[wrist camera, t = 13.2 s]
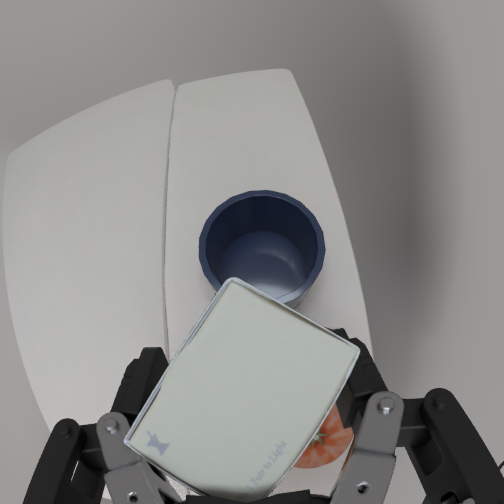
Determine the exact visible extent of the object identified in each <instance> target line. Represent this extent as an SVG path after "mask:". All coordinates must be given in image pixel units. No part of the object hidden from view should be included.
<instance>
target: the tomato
mask: <svg viewBox="0 0 504 504" xmlns="http://www.w3.org/2000/svg"><path fill="white" fill-rule="evenodd" d="M353 435H354V434H353V431H352V428H351V427H350V428H346V429H343V425H342V422H341V419H340V415H339V412H338V409H337V406H336V402H335V404H334V406H333V407H332V409H331V410H330V412H329V414H328V415H327V417H326V419H325V420H324V422H323V424H322V425H321V427H320V428H319V430H318V432H317V433H316V434H315V436H314V437H313V439H312V440H311V442H310V443H309V445H308V446H307V448H306V449H305V451H304V452H303V454H302V455H301V456H300V458H299V459H298V460H297V462H296V463H295V464H294V467H298V468H315V467H319V466H323V465H325V464H328V463H330V462H332V461H334V460H335V459H337V458H338V457H339V456H340V455H341V454H342V453H343V452H344V451H345V450H346V448H347V447H348V445H349V444H350V442H351V440H352V438H353Z"/></svg>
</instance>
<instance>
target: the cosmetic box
mask: <svg viewBox="0 0 504 504" xmlns="http://www.w3.org/2000/svg"><path fill="white" fill-rule="evenodd" d="M359 354H360V349H359V348H358V346H356V345H354V344H353V343H351V342H349V341H347V340H345V339H344V338H342V337H340V336H338V335H336V334H335V333H333V332H332V331H330V330H328V329H326V328H324V327H323V326H321V325H319V324H318V323H316V322H314V321H313V320H311V319H309V318H307V317H305V316H303V315H302V314H300V313H298V312H297V311H295V310H293V309H291V308H290V307H288V306H286V305H285V304H283V303H281V302H279V301H278V300H276V299H274V298H272V297H271V296H269V295H267V294H265V293H264V292H262V291H260V290H258V289H256V288H255V287H253V286H251V285H249V284H248V283H246V282H244V281H242V280H241V279H239V278H236V277H232V278H229V279H227V280H226V281H225V282H224V284H223V285H222V287H221V288H220V290H219V291H218V292H217V294H216V295H215V297H214V298H213V300H212V301H211V303H210V304H209V306H208V307H207V308H206V310H205V311H204V313H203V314H202V316H201V318H200V319H199V321H198V322H197V323H196V325H195V326H194V328H193V329H192V331H191V332H190V334H189V335H188V337H187V338H186V340H185V341H184V343H183V344H182V346H181V347H180V349H179V350H178V352H177V353H176V355H175V356H174V358H173V359H172V361H171V362H170V364H169V366H168V367H167V369H166V371H165V372H164V374H163V375H162V377H161V379H160V380H159V382H158V384H157V385H156V387H155V388H154V390H153V391H152V393H151V395H150V397H149V398H148V400H147V402H146V403H145V405H144V407H143V408H142V410H141V411H140V413H139V415H138V416H137V418H136V420H135V421H134V423H133V425H132V427H131V428H130V430H129V432H128V433H127V435H126V436H125V438H124V443H125V444H126V445H127V446H128V447H130V448H131V449H132V450H134V451H135V452H136V453H138V454H139V455H141V456H142V458H144V459H145V460H146V461H148V462H149V463H150V464H152V465H153V466H155V467H156V468H157V469H159V470H160V471H162V472H163V473H165V474H166V475H167V476H169V477H171V478H172V479H174V480H175V481H177V482H179V483H180V484H182V485H184V486H185V487H187V488H189V489H190V490H192V491H194V492H195V493H197V494H199V495H201V496H216V497H220V498H224V499H229V500H234V501H239V502H252V501H256V500H260V499H263V498H266V497H267V496H268V495H269V494H270V493H271V492H272V491H273V490H274V489H275V488H276V486H277V485H278V484H279V483H280V482H281V481H282V479H283V478H284V477H285V476H286V475H287V473H288V472H289V471H290V469H291V468H292V467H293V466H294V464H295V463H296V462H297V460H298V459H299V458H300V456H301V455H302V454H303V452H304V451H305V449H306V448H307V446H308V445H309V443H310V442H311V440H312V439H313V437H314V436H315V434H316V433H317V432H318V430H319V428H320V427H321V425H322V424H323V422H324V420H325V419H326V417H327V415H328V414H329V412H330V410H331V409H332V407H333V406H334V404H335V402H336V400H337V398H338V396H339V394H340V392H341V391H342V389H343V387H344V385H345V383H346V381H347V379H348V378H349V376H350V374H351V372H352V370H353V367H354V365H355V363H356V361H357V359H358V357H359Z"/></svg>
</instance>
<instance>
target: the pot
mask: <svg viewBox="0 0 504 504" xmlns="http://www.w3.org/2000/svg"><path fill="white" fill-rule="evenodd" d="M325 251H326V249H325V242H324V236H323V231H322V229H321V227H320V225H319V223H318V221H317V219H316V217H315V216H314V215H313V214H312V213H311V212H310V211H309V210H308V209H307V208H306V207H305V206H304V205H303V204H302V203H301V202H300V201H298V200H296V199H294V198H292V197H290V196H288V195H287V194H283V193H279V192H274V191H270V190H259V191H248V192H245V193H242V194H239V195H236V196H233V197H231V198H229V199H228V200H227V201H225V202H224V203H222V204H221V205H219V206H218V207H217V208H216V209H215V210H214V211H213V213H212V214H211V215H210V216H209V218H208V219H207V220H206V222H205V224H204V227H203V229H202V232H201V235H200V237H199V260H200V263H201V266H202V269H203V272H204V275H205V276H206V278H207V279H208V281H209V282H210V283H211V285H212V286H213V287H214V289H215V290H216V291H217V292H218V291H219V290H220V288H221V287H222V285H223V284H224V282H225V281H226V280H227V279H229V278H232V277H236V278H239V279H241V280H242V281H244V282H246V283H248V284H249V285H251V286H253V287H255V288H256V289H258V290H260V291H262V292H264V293H265V294H267V295H269V296H271V297H272V298H274V299H276V300H278V301H279V302H281V303H283V304H285V305H286V306H288V307H290V308H291V309H294V308H295V307H296V306H297V305H298V304H300V302H301V301H302V300H303V298H304V297H305V295H306V294H307V292H308V291H309V289H310V288H311V286H312V285H313V283H314V281H315V280H316V278H317V276H318V274H319V273H320V271H321V269H322V266H323V261H324V256H325Z"/></svg>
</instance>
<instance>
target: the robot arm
mask: <svg viewBox="0 0 504 504" xmlns="http://www.w3.org/2000/svg"><path fill="white" fill-rule="evenodd" d="M330 331H332V332H333V333H335V334H336V335H338V336H340V337H342V338H344V339H345V340H347V341H349V342H351V343H353V344H354V345H356V346H358V348H359V349H360V354H359V357H358V359H357V361H356V363H355V365H354V367H353V370H352V372H351V374H350V376H349V378H348V379H347V381H346V383H345V385H344V387H343V389H342V391H341V392H340V394H339V396H338V398H337V400H336V406H337V409H338V412H339V415H340V419H341V422H342V425H343V429H346V428H350V427H351V428H352V431H353V434H354V439H353V441H352V444H351V447H350V450H349V452H348V455H347V457H346V460H345V462H344V465H343V467H342V470H341V472H340V474H339V477H338V479H337V481H336V483H335V485H334V487H333V489H332V491H331V494H330V496H329V497H328V496H324V495H316V494H310V490H309V489H308V490H302V491H296V492H289V493H280V494H276V495H273V496H270V497H266V498H263V499H260V500H256V501H252V502H239V501H234V500H229V499H224V498H220V497H216V496H194V495H186V500H185V501H182V499H181V498H180V496H179V495H178V493H177V492H176V491H175V489H174V488H173V487H172V486H171V484H170V483H169V481H168V479H167V477H166V475H165V473H163V472H162V471H160V470H159V469H157V468H156V467H155V466H153V465H152V464H150V463H149V462H148V461H146V460H145V459H144V458H142V456H141V455H139V454H138V453H136V452H135V451H134V450H132V449H131V448H130V447H128V446H127V445H126V444H125V443H124V438H125V436H126V435H127V433H128V432H129V430H130V428H131V427H132V425H133V423H134V421H135V420H136V418H137V416H138V415H139V413H140V411H141V410H142V408H143V407H144V405H145V403H146V402H147V400H148V398H149V397H150V395H151V393H152V391H153V390H154V388H155V387H156V385H157V384H158V382H159V380H160V379H161V377H162V375H163V374H164V372H165V371H166V369H167V367H168V366H169V364H168V362H167V359H166V357H165V354H164V352H163V350H162V348H161V347H145V348H143V350H142V352H141V355H140V357H139V359H134V360H133V361H132V362H131V363H130V364H129V365H128V366H127V368H126V371H125V373H124V378H123V379H122V381H121V385H120V387H119V389H118V392H117V395H116V397H115V400H114V403H113V406H112V409H111V411H110V413H107V414H105V415H103V416H102V417H101V418H100V419H99V420H98V422H97V423H95V424H88V425H79V424H78V423H77V422H76V421H75V420H73V419H69V418H66V419H62V420H60V421H59V422H58V423H57V424H56V425H55V427H54V428H53V431H52V433H51V435H50V437H49V439H48V442H47V443H46V446H45V448H44V450H43V453H42V455H41V457H40V459H39V462H38V464H37V467H36V469H35V471H34V474H33V477H32V479H31V482H30V484H29V487H28V490H27V493H26V496H25V498H24V501H23V504H100V501H101V498H102V494H103V491H104V487H105V484H106V485H107V488H108V491H109V493H110V496H111V499H112V501H113V504H383V502H384V499H385V496H386V493H387V490H388V487H389V484H390V481H391V477H392V474H393V471H394V467H395V463H396V456H395V449H396V447H405V449H406V451H407V453H408V455H409V457H410V459H411V461H412V464H413V466H414V468H415V470H416V472H417V475H418V477H419V479H420V481H421V484H422V486H423V488H424V490H425V493H426V495H427V498H428V500H429V502H430V504H504V478H503V476H502V474H501V472H500V469H501V468H502V466H503V465H504V461H503V462H502V463H501V464H500V466H499V467H498V466H497V464H496V463H495V461H494V459H493V457H492V455H491V454H490V452H489V450H488V449H487V447H486V445H485V443H484V442H483V440H482V439H481V437H480V435H479V434H478V432H477V430H476V429H475V427H474V426H473V424H472V422H471V421H470V419H469V418H468V416H467V415H466V413H465V412H464V410H463V409H462V407H461V406H460V404H459V403H458V401H457V400H456V398H455V397H454V395H453V394H452V393H451V392H450V391H448V390H446V389H443V388H435V389H432V390H430V391H429V392H428V393H427V394H426V396H425V397H424V398H419V399H402V398H401V397H400V396H399V395H398V394H396V393H394V392H390V391H388V389H387V387H386V386H385V383H384V381H383V379H382V377H381V375H380V373H379V371H378V369H377V367H376V365H375V363H373V359H372V357H371V355H370V353H369V351H368V349H367V348H366V346H365V344H364V343H362V342H361V341H360V340H359V339H357V338H352V339H349V338H348V336H347V334H346V332H345V330H344V329H343V328H340V329H335V330H330ZM77 461H79V462H78V465H77V468H76V470H75V467H76V464H77ZM74 470H75V473H74V476H73V479H72V482H71V478H72V475H73V472H74Z"/></svg>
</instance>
